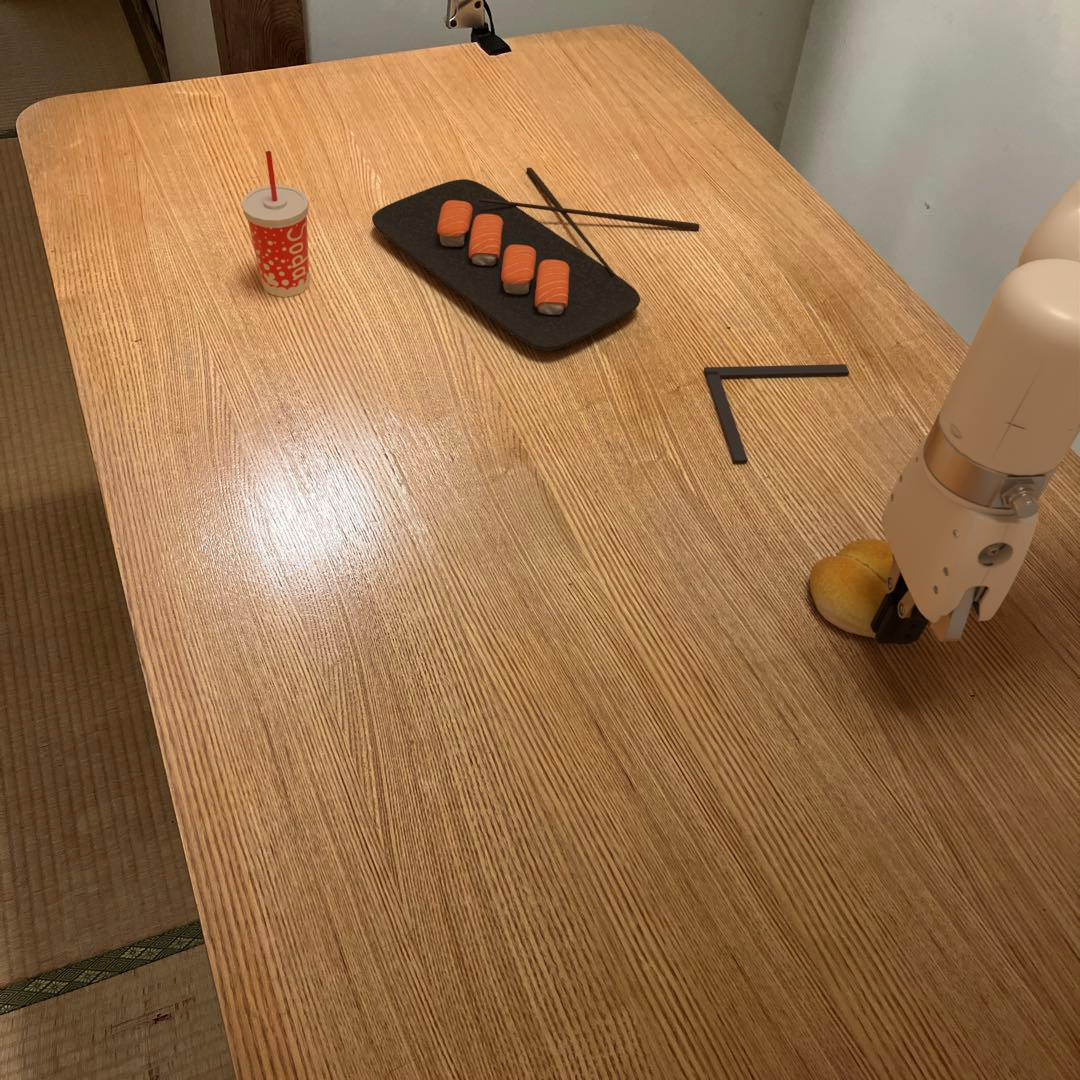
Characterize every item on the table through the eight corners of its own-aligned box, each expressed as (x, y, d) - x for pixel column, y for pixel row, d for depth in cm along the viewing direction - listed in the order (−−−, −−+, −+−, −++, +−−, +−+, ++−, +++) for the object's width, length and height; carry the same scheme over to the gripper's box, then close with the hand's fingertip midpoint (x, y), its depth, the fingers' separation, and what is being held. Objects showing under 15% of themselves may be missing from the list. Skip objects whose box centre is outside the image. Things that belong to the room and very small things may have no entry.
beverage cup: (272, 308, 104) (252, 176, 94) (243, 276, 107) (221, 145, 97) (328, 289, 107) (315, 158, 96) (299, 258, 110) (283, 129, 100)
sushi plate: (360, 230, 114) (358, 198, 111) (568, 148, 128) (571, 117, 125) (542, 372, 101) (545, 339, 98) (752, 261, 115) (759, 230, 112)
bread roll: (786, 588, 85) (798, 555, 82) (866, 544, 89) (880, 511, 86) (861, 661, 81) (877, 629, 78) (942, 612, 84) (960, 579, 81)
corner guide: (844, 368, 104) (845, 363, 103) (886, 459, 96) (888, 455, 95) (703, 371, 102) (704, 366, 102) (733, 464, 94) (734, 460, 93)
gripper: (1101, 543, 62) (979, 717, 75) (997, 375, 72) (905, 556, 85) (979, 548, 61) (877, 724, 74) (890, 377, 70) (815, 560, 84)
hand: (892, 634), depth 80 cm, fingers closed
